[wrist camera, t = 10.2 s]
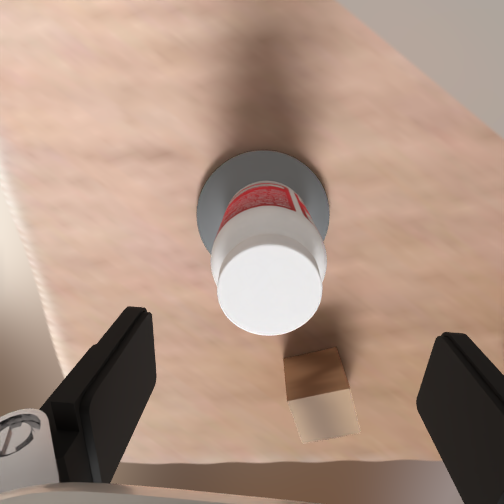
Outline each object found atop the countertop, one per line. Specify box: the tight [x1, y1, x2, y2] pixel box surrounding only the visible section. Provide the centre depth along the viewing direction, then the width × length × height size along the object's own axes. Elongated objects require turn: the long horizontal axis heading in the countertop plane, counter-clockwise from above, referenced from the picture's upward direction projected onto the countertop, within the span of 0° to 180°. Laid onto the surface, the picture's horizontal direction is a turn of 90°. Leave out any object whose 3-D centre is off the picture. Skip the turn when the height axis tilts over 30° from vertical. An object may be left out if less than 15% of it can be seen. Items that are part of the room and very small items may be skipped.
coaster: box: [197, 150, 329, 254], centre depth 25 cm, size 10×10×1 cm
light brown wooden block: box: [283, 347, 361, 444], centre depth 28 cm, size 5×5×5 cm
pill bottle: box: [211, 181, 327, 336], centre depth 19 cm, size 6×6×11 cm
